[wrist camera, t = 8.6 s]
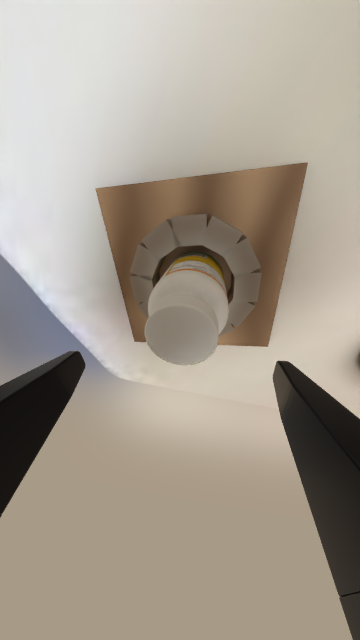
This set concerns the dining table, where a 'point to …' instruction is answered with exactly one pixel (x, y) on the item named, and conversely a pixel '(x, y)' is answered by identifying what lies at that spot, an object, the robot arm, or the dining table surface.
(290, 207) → the collar board
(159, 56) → the dining table surface
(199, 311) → the supplement bottle
